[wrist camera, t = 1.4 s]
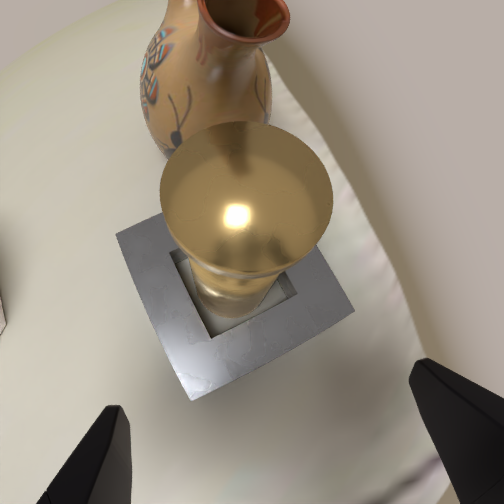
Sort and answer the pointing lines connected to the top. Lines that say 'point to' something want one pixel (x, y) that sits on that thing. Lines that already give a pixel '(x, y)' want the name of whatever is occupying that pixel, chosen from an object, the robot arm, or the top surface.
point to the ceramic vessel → (209, 67)
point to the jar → (2, 318)
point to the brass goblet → (244, 209)
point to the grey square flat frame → (240, 337)
